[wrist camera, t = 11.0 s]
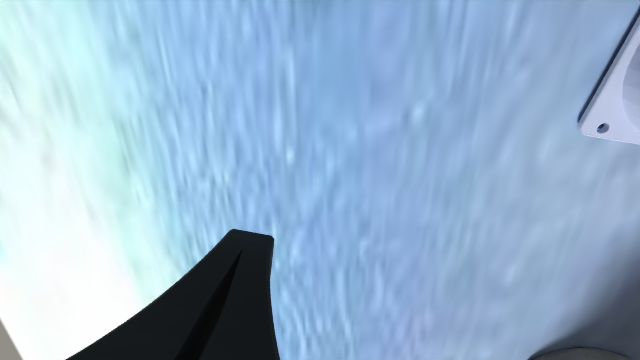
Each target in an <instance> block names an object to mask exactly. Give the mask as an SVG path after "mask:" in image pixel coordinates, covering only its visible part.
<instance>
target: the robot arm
mask: <svg viewBox="0 0 640 360" xmlns="http://www.w3.org/2000/svg"><path fill="white" fill-rule="evenodd" d="M603 123H605V124H604V127H603V128H602V129H600V130H597V128H598V127H599V126H600V125H601V124H603ZM578 130H579V131H580V132H581V133H582V134H584V135H586V136H592V137H597V138H603V139H609V140H615V141H621V142H627V143H632V144H638V145H640V15H639V17H638V19H637V21H636V22H635V24H634V26H633V28H632V29H631V31H630V33H629V35H628V37H627V38H626V40H625V42H624V44H623V45H622V47H621V49H620V51H619V52H618V54H617V56H616V58H615V59H614V61H613V63H612V65H611V66H610V68H609V70H608V72H607V73H606V75H605V77H604V79H603V81H602V82H601V84H600V86H599V88H598V89H597V91H596V93H595V95H594V96H593V98H592V100H591V102H590V103H589V105H588V107H587V109H586V110H585V112H584V114H583V116H582V117H581V119H580V121H579V123H578ZM273 248H274V238H273V237H272V236H270V235H265V234H259V233H253V232H248V231H242V230H237V229H232V230H230V231H229V232H228V233H227V234H226V235H225V236H224V237H223V238H222V239H221V241H220V242H219V243H218V244H217V245H216V246H215V247H214V248H213V249H212V250H211V251H210V252H209V253H208V254H207V255H206V256H205V257H204V258H203V259H202V260H201V261H199V262H198V263H197V264H196V265H195V266H194V267H193V268H192V269H191V270H190V271H189V272H188V273H187V274H185V275H184V276H183V277H182V278H181V279H180V280H178V281H177V282H176V283H175V284H174V285H173V286H171V287H170V288H169V289H168V290H167V291H165V292H164V293H163V294H162V295H161V296H159V297H158V298H157V299H156V300H154V301H153V302H152V303H150V304H149V305H148V306H146V307H145V308H144V309H142V310H141V311H140V312H138V313H137V314H136V315H134V316H133V317H131V318H130V319H129V320H127V321H126V322H124V323H123V324H121V325H120V326H118V327H117V328H115V329H114V330H112V331H111V332H109V333H108V334H106V335H105V336H103V337H102V338H100V339H99V340H97V341H96V342H94V343H93V344H91V345H89V346H88V347H86V348H85V349H83V350H81V351H80V352H78V353H76V354H75V355H73V356H71V357H69V358H68V359H66V360H280V357H279V353H278V347H277V342H276V336H275V330H274V323H273V315H272V306H271V295H270V275H271V266H272V257H273Z"/></svg>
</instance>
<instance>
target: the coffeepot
mask: <svg viewBox="0 0 640 360" xmlns="http://www.w3.org/2000/svg"><path fill="white" fill-rule="evenodd" d="M533 360H629V358H628V357H625V356H622V355H619V354H617V353H614V352H610V351H607V350H603V349H596V348H570V349H563V350H558V351H553V352H550V353H547V354H544V355H541V356H539V357H537V358H535V359H533Z"/></svg>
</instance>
